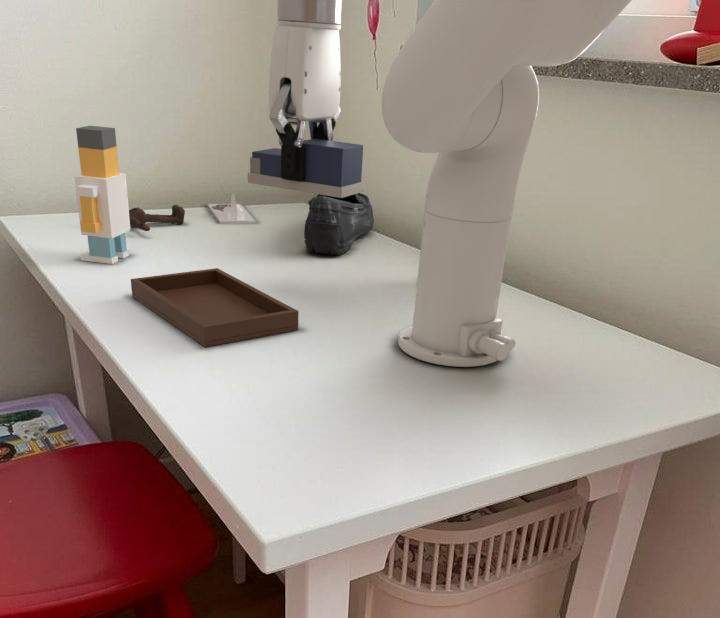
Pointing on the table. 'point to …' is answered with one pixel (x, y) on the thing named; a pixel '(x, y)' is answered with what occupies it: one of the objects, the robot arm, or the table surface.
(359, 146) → the blue stair step block
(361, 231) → the loafer
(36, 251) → the table surface
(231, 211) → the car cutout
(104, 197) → the character figure
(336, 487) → the table surface
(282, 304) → the tray
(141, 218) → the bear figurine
